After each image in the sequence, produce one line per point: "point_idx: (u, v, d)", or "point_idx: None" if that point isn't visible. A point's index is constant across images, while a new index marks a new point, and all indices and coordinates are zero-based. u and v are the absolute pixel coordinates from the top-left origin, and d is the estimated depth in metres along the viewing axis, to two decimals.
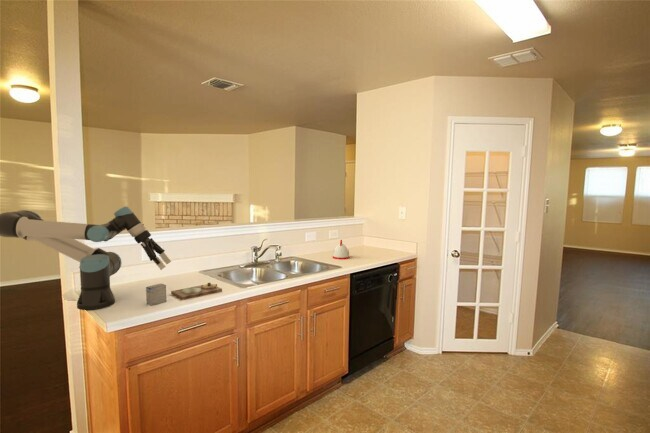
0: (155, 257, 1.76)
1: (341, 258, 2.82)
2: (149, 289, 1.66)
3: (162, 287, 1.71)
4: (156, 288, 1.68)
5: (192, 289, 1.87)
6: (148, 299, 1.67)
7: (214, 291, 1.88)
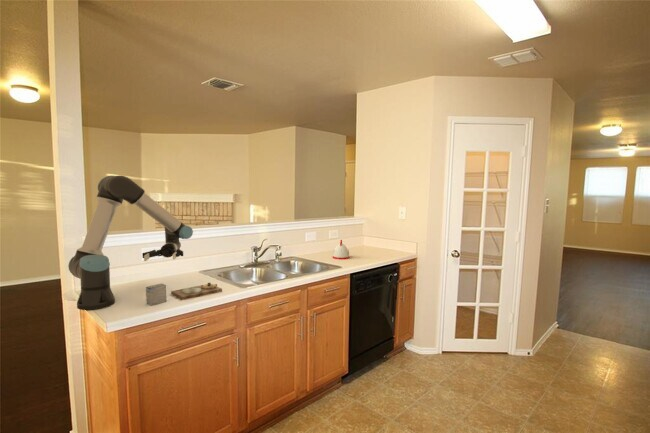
0: (179, 255, 1.86)
1: (341, 258, 2.82)
2: (149, 289, 1.66)
3: (162, 287, 1.71)
4: (156, 288, 1.68)
5: (192, 289, 1.87)
6: (148, 299, 1.67)
7: (214, 291, 1.88)
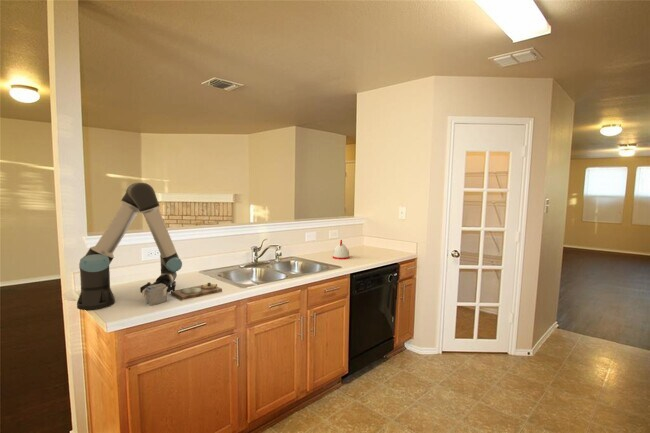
0: (170, 290, 1.74)
1: (341, 258, 2.82)
2: (149, 289, 1.66)
3: (162, 287, 1.71)
4: (156, 288, 1.68)
5: (192, 289, 1.87)
6: (148, 299, 1.67)
7: (214, 291, 1.88)
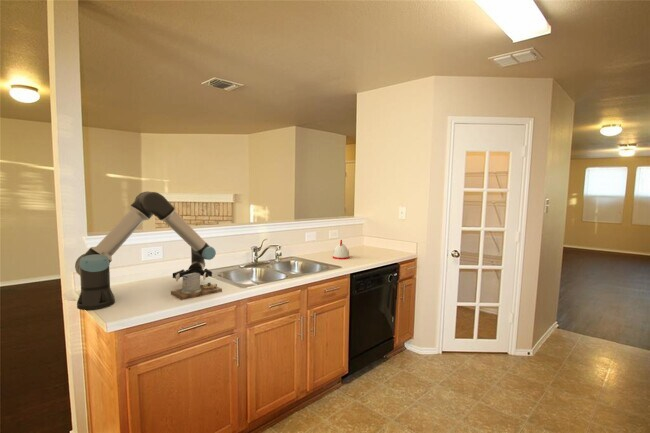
0: (208, 276, 1.91)
1: (341, 258, 2.82)
2: (186, 277, 1.82)
3: (197, 276, 1.86)
4: (192, 276, 1.83)
5: None
6: (185, 287, 1.82)
7: (214, 291, 1.88)
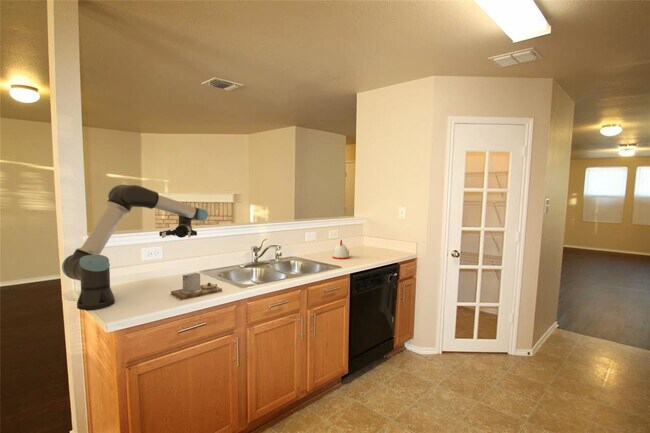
0: (193, 234, 2.02)
1: (341, 258, 2.82)
2: (186, 277, 1.82)
3: (197, 276, 1.86)
4: (192, 276, 1.83)
5: None
6: (185, 287, 1.82)
7: (214, 291, 1.88)
